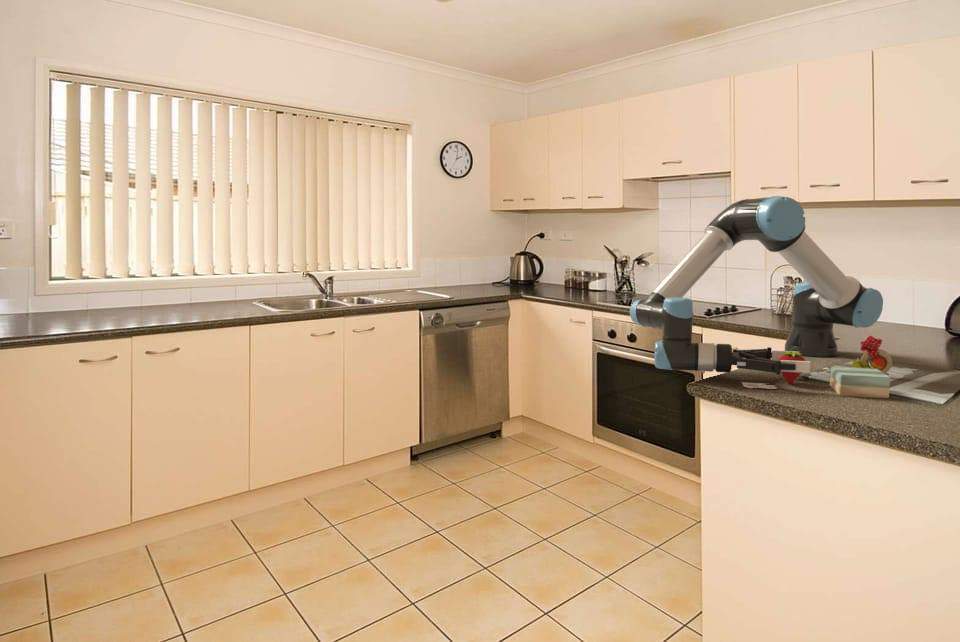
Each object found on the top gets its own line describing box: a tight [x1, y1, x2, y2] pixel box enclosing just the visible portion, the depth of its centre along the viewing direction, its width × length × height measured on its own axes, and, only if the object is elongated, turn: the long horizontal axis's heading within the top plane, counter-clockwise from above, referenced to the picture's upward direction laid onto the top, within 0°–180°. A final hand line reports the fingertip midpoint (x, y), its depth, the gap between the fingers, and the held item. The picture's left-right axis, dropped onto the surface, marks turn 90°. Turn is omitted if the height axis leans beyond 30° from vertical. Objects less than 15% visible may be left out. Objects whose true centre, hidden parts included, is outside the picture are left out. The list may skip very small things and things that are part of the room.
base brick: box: [829, 366, 891, 399], centre depth 148 cm, size 10×10×5 cm
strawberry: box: [779, 346, 806, 385], centre depth 156 cm, size 6×8×10 cm
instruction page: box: [740, 381, 767, 387], centre depth 154 cm, size 6×8×1 cm
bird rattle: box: [851, 335, 893, 374], centre depth 164 cm, size 6×11×9 cm
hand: (804, 361), depth 155 cm, fingers open, 13 cm apart
